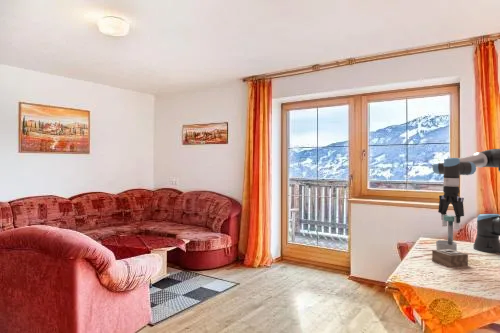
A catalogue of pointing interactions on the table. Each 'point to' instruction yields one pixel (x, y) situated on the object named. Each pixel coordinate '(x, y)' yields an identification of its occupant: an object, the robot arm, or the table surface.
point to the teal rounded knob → (449, 227)
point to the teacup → (445, 245)
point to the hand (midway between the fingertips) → (450, 227)
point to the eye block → (450, 257)
